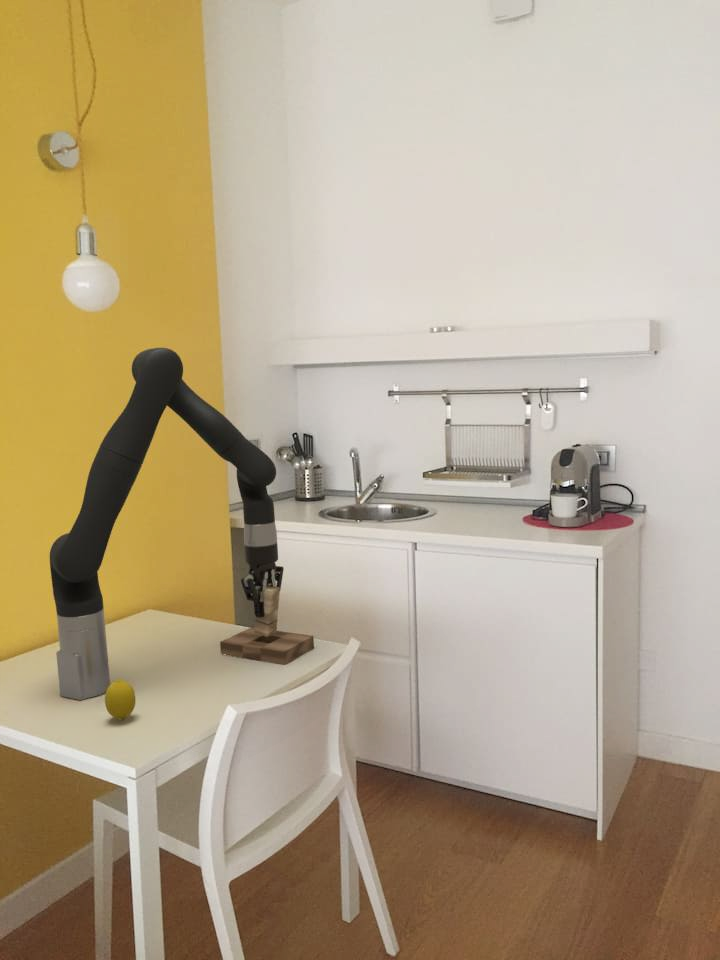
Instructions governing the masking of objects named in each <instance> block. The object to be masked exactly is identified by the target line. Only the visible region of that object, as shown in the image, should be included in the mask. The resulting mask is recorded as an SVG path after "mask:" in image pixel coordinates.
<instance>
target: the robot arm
mask: <svg viewBox="0 0 720 960" xmlns="http://www.w3.org/2000/svg"><path fill="white" fill-rule="evenodd" d="M131 374H132V377H133V380H134V381H135V384H134V387H133V390H132V392H131V395H130V397H129V400H128V402H127V404H126V406H125V407H124V409H123V410H122V411H121V413H120V415H118V417H117V419H116V420H115V421H114V423H113V424H112V426H110V428H109V430H108V431H107V433H106V435H105V436H104V437H103V439H102V441H101V443H100V446H99V447H98V449H97V452H96V454H95V456H94V459H93V461H92V463H91V465H90V470H89V472H88V476H87V479H86V484H85V489H84V494H83V499H82V504H81V506H80V510H79V513H78V515H77V517H76V520H75V521H74V523H73V525H72V527H71V529H70V531H69V532H68V533H64V534H61V535H60V536H59V537H57V539H55V541H54V542H53V543H52V545H51V547H50V552H49V567H50V568H49V569H50V578H51V585H52V595H53V599H54V602H55V603H54V604H55V609H56V611H55V612H56V619H57V631H58V639H59V642H58V643H59V650H57V651H56V663H57V664H56V665H57V675H58V676H57V677H58V683H59V685H58V686H59V696H61V697H63V698H64V697H65V698H69V699H74V700H78V701H82V700H85V699H88V698H92V697H93V698H94V697H97V696H100V695H103V694H106V691H107V689H108V687H109V686H110V685H111V677H110V667H109V654H108V641H107V631H106V620H105V610H104V609H105V608H104V599H103V593H102V590H101V586H100V583H99V582H100V581H99V576H98V575H99V573H98V571H99V570H100V568H101V566H102V564H103V560H104V557H105V553H106V550H107V547H108V543H109V540H110V538H111V535H112V534H111V533H112V531H113V528H114V526H115V523H116V522H117V519H118V517H119V514H120V513H121V511H122V509H123V507H124V506H125V503H126V501H127V499H128V496H129V494H130V492H131V490H132V488H133V486H134V484H135V482H136V480H137V477H138V475H139V474H140V471H141V469H142V466H143V464H144V462H145V458H146V456H147V453H148V450H149V448H150V446H151V444H152V441H153V439H154V437H155V433H156V432H157V431H156V430H157V427H158V425H159V422H160V420H161V418H162V416H163V414H164V412H165V410H166V408H167V407H168V408H169V409H170V410H172V411H173V412H175V414H176V415H177V416H179V417H180V418H181V419H182V420H183V421H184V422H185V423H186V424H187V425H188V426H189V427H190V428H191V429H192V430H193V431H194V432H195V433H196V434H197V435H198V436H199V437H200V438H201V439H202V440H203V441H204V442H205V443H206V444H207V445H208V446H209V447H210V448H211V450H212V451H214V453H216V454H217V455H218V456H219V457H220V458H222V460H225V461H226V462H228V463H230V464H232V466H234V467H235V468H236V480H237V486H238V490H239V493H240V494H239V495H240V498H241V501H242V507H243V509H242V511H243V543H244V556H245V557H244V559H245V563H246V564H247V565H248V566H249V567H248V568H249V570H248V575H247V576H246V577H242V578H241V579H240V582H241V585H242V589H243V591H244V594H245V596H246V599H247V601H251V602H253V611H254V615H255V618H256V617H260V618H262V617H264V602H263V599H264V594H263V592H264V591H265V590H266V585H267V584H268V585H271V586H276V587H279V588H280V591H281V587H282V581H283V576H284V575H283V574H284V566H280V565H276V562H277V561H278V560H279V550H278V549H279V548H278V535H277V533H278V532H277V526H276V521H275V519H276V517H275V503H274V500H273V498H272V497H271V496H270V495H269V494H268V489H267V487H268V486H270V485H271V484H272V483H273V482H274V481H275V479H276V476H277V469H276V465H275V463H274V462H273V460H272V459H271V458H270V457H269V455H268V454H266V453H265V452H264V451H263V450H262V449H260V448H259V447H257V446H256V445H255V444H254V443H252V442H251V441H250V440H248V439H247V438H246V437H245V436H244V435H243V433H242V432H241V431H240V430H239V429H238V428H237V427H236V426H235V424H233V423H232V422H231V421H230V419H228V418H227V417H226V416H225V415H224V414H223V413H222V412H220V411H219V410H217V409H216V408H215V407H213V406H212V405H211V404H210V403H209V402H207V401H206V400H204V399H203V398H202V397H200V396H199V395H198V394H197V393H196V392H195V391H194V390H193V389H192V388H190V386H189V385H188V384H187V383H186V382H185V380H184V379H183V375H184V365H183V361H182V359H181V357H180V356H179V355H178V353H177V352H176V351H175V350H172V349H171V348H168V347H154V348H148V349H145V350H143V351H140V352H139V353H138V354H136V356H135V357H134V359H133V361H132V364H131ZM259 587H261V588H259ZM258 591H259V596H258Z"/></svg>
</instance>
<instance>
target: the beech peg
mask: <svg viewBox="0 0 720 960" xmlns="http://www.w3.org/2000/svg"><path fill="white" fill-rule="evenodd" d="M276 586H277V585H276ZM276 586H271V585H268V584H267V585H266V590H265V591H264V592H263V594H264V599H263V602H264V617H262V618H260V617H256V616H255V619H254V620H255V621H254V623H255V624H254V628H255V633H257V634H260V635H263V636H266V637H268V636H270V635H272V634H274V633H276V631H278V630H277V629H278V627H277V626H278V616H279V615H278V614H279V605H280V594H281V593H280V592H281V590H280V588H279V587H276ZM258 588H261V586H258ZM257 594H258V596H259V591H257Z"/></svg>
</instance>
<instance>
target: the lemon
mask: <svg viewBox="0 0 720 960" xmlns="http://www.w3.org/2000/svg"><path fill="white" fill-rule="evenodd" d="M104 705H105V709H106V711H107V713H108V715H110V716H111V717H112V718H115V719H118V720H120V721H123V720H125V719H126V717H129V715H131V714H132V712H133V710H134V709H135V706H136V693H135V690H134V688H133V686H132V685H131V684H130V683H129V682H127V681H125V680H122V679H120V678H119V679H116V680H115V681H113V682H112V683H110V686H109V687H108V689H107V691H106V692H105V697H104Z"/></svg>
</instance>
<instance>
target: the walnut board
mask: <svg viewBox="0 0 720 960" xmlns="http://www.w3.org/2000/svg"><path fill="white" fill-rule="evenodd" d="M314 641H315V639H314V635H310V634H303V633H294V632H288V631H280V630H276V633H274V634H272V635H270V636H268V637H266V636H263V635H260V634H257V633H255V627H253V626H251V627H249V628H247V629H244V630H243V631H240V632H239V633H237V634H235V635H234V634H233V635H232V636H230V637H227V638H226V639H224V640H221V641H219V642H220V643H219V644H220V654H221V653H222V654H226V655H225V656H227V655H231V656H230V657H233V656H236V657H235V658H239V657H241V658H240V659H245V658H246V659H247V660H253V661H260V662H264V663H271V664H277V665H282V666H285V665H287V664H289V663H291V662H293V661H294V660H296V659H298V658H300V657H301V656H303V655H305V654H306V653H308V652H310V651H312V650H314V649H315V642H314ZM246 659H245V660H246Z"/></svg>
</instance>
